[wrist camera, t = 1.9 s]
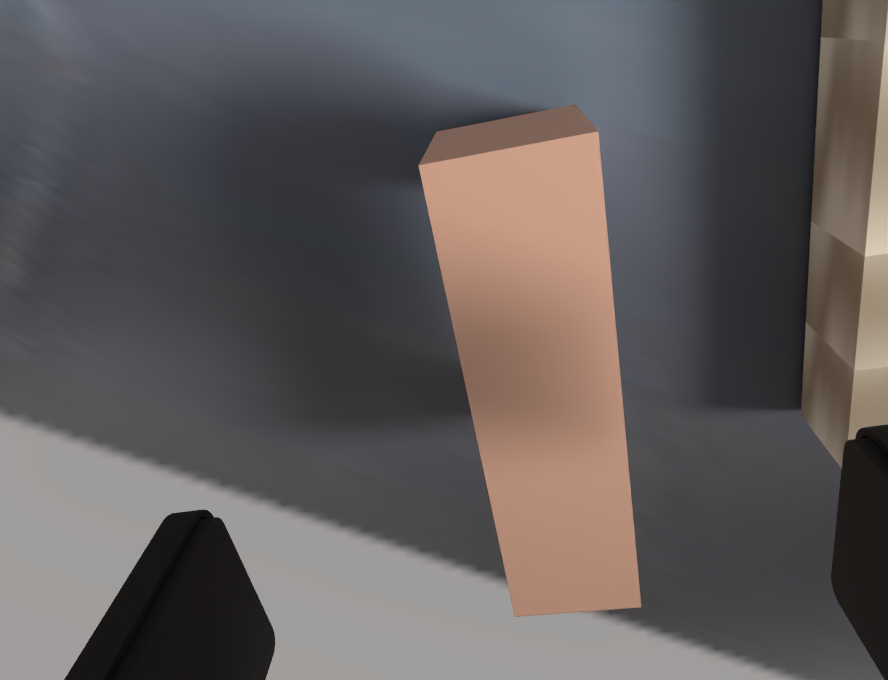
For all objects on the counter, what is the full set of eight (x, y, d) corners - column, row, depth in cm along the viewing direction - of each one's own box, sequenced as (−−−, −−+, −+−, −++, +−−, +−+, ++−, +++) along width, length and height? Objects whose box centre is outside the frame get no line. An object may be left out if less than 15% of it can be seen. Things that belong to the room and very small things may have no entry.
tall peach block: (598, 425, 22) (641, 607, 15) (510, 436, 22) (514, 616, 16) (559, 85, 17) (598, 131, 10) (449, 107, 18) (418, 165, 11)
